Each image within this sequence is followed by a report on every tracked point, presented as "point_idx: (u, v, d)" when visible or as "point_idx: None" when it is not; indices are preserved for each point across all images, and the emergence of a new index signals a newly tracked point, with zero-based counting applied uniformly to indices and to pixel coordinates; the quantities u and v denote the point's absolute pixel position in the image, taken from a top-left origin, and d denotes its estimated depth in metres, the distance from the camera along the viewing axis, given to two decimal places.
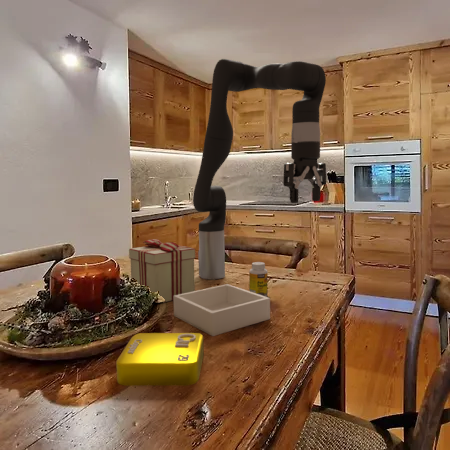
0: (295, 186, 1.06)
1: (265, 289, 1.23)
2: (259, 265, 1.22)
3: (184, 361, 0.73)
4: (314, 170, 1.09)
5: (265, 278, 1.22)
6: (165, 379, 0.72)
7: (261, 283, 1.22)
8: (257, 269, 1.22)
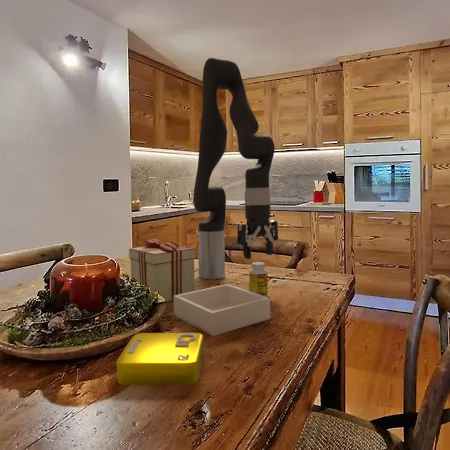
0: (247, 244, 1.19)
1: (265, 289, 1.23)
2: (259, 265, 1.22)
3: (184, 361, 0.73)
4: (265, 229, 1.22)
5: (265, 278, 1.22)
6: (165, 379, 0.72)
7: (261, 283, 1.22)
8: (257, 269, 1.22)
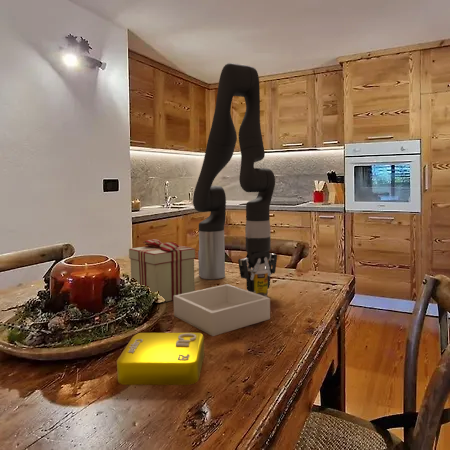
0: (251, 278, 1.21)
1: (265, 289, 1.23)
2: (259, 265, 1.22)
3: (185, 360, 0.73)
4: (265, 260, 1.23)
5: (265, 278, 1.22)
6: (165, 379, 0.73)
7: (261, 283, 1.22)
8: (257, 269, 1.22)
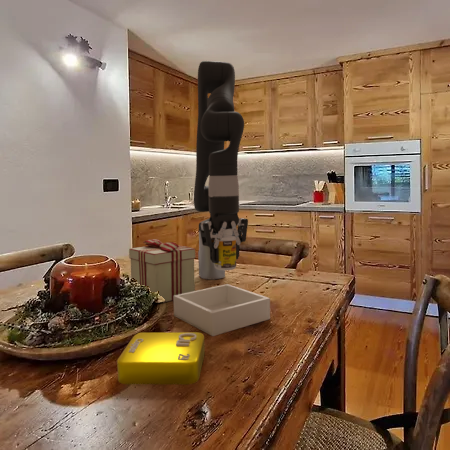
0: (214, 246, 1.00)
1: (233, 260, 1.01)
2: (225, 230, 1.01)
3: (185, 360, 0.73)
4: (232, 225, 1.01)
5: (233, 246, 1.01)
6: (165, 378, 0.73)
7: (227, 252, 1.00)
8: (223, 235, 1.01)
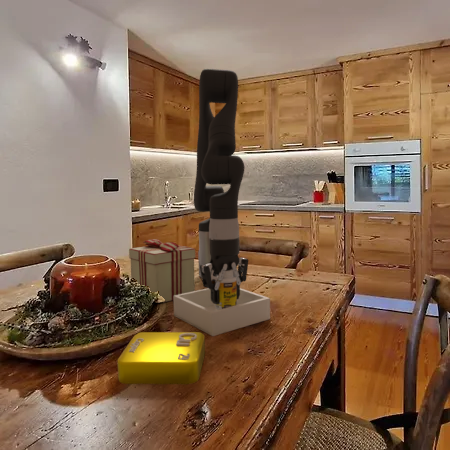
0: (215, 288, 1.01)
1: (233, 300, 1.03)
2: (226, 272, 1.02)
3: (185, 360, 0.74)
4: (233, 266, 1.03)
5: (233, 287, 1.02)
6: (165, 378, 0.73)
7: (228, 294, 1.02)
8: (224, 277, 1.02)
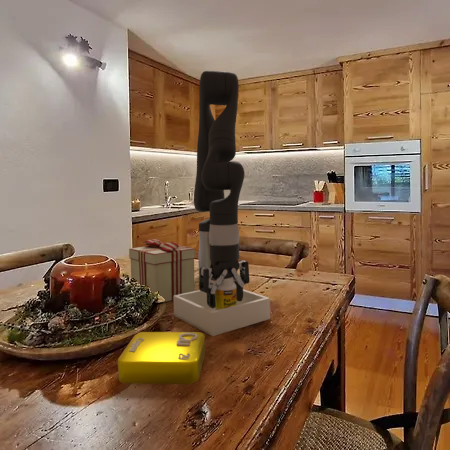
0: (211, 292, 1.00)
1: None
2: (226, 279, 1.02)
3: (185, 360, 0.74)
4: (233, 272, 1.03)
5: (233, 295, 1.03)
6: (165, 378, 0.73)
7: (228, 301, 1.02)
8: (224, 285, 1.02)
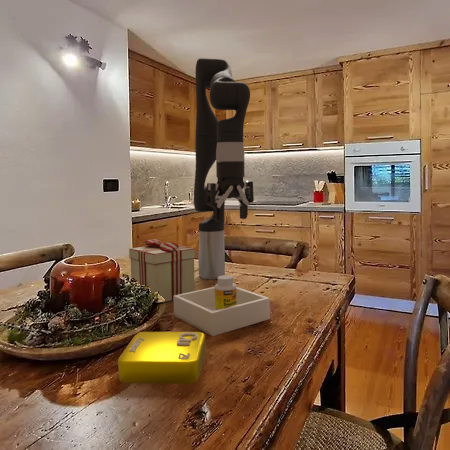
0: (217, 206, 1.07)
1: None
2: (226, 279, 1.02)
3: (185, 359, 0.74)
4: (238, 189, 1.09)
5: (233, 295, 1.03)
6: (165, 377, 0.73)
7: (228, 301, 1.02)
8: (224, 285, 1.02)
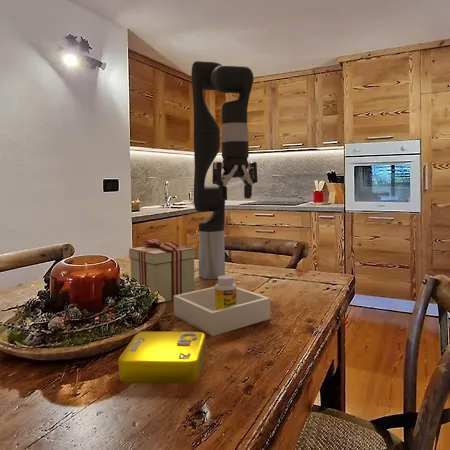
0: (223, 184, 1.11)
1: None
2: (226, 279, 1.02)
3: (185, 359, 0.74)
4: (243, 169, 1.13)
5: (233, 295, 1.03)
6: (166, 377, 0.73)
7: (228, 301, 1.02)
8: (224, 284, 1.02)
